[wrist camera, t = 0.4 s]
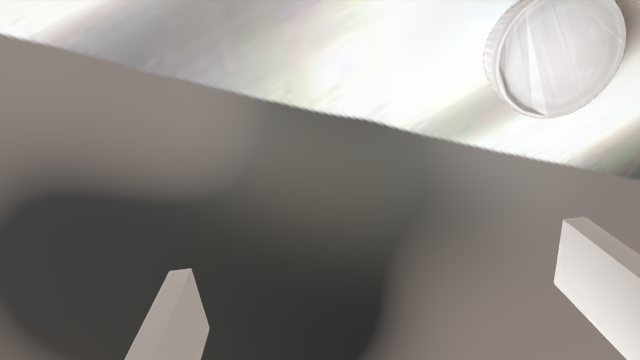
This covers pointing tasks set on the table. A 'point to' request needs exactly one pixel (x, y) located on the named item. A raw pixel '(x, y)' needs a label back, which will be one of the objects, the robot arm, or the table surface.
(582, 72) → the ramekin
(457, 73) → the table surface
